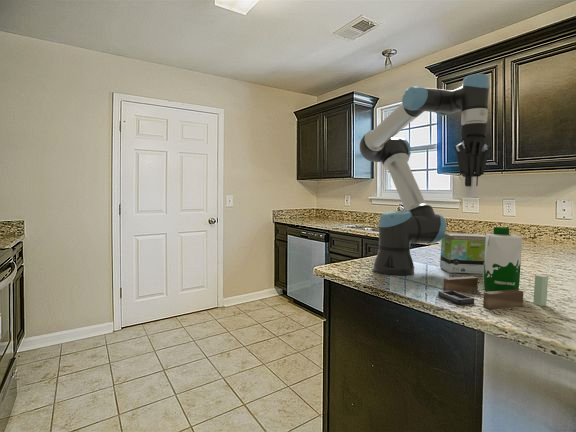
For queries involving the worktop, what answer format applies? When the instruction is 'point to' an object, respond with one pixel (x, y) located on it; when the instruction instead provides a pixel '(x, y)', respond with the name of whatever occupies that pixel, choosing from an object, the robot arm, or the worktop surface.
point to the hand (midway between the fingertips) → (470, 196)
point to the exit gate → (538, 289)
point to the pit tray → (456, 297)
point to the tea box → (463, 253)
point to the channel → (490, 298)
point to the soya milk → (502, 260)
